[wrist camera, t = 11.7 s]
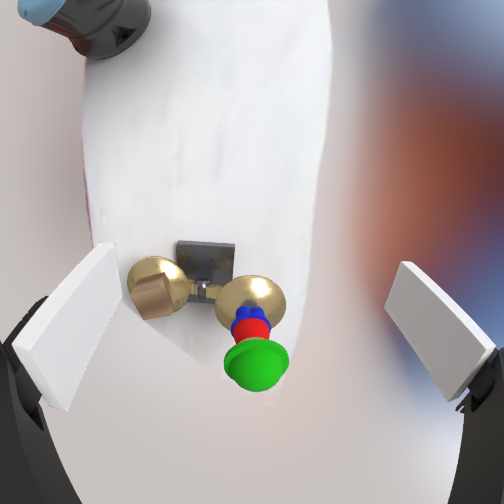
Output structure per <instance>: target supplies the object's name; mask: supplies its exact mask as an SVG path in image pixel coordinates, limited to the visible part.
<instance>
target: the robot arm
mask: <svg viewBox="0 0 504 504" xmlns="http://www.w3.org/2000/svg"><path fill="white" fill-rule="evenodd" d="M18 12H19V15H20V16H21V17H22V18H23V19H25V20H27V21H29V22H31V23H32V24H33V25H35V26H41V27H43V28H46V29H49V30H51V31H54V32H56V33H59V34H61V35H63V36H66V37H68V38H69V40H70V41H71V42H72V44H73V46H74V48H75V50H76V51H77V52H78V53H80V54H81V55H83V56H86V57H88V58H91V59H105V58H109V57H112V56H114V55H117V54H119V53H121V52H122V51H124V50H125V49H127V48H128V47H130V46H131V45H132V44H133V43H134V42H135V41H136V40H137V39H138V38H139V37H140V36H141V35H142V33H143V32H144V30H145V29H146V27H147V25H148V23H149V20H150V16H151V7H150V4H149V2H148V0H18ZM122 298H123V294H122V288H121V281H120V275H119V267H118V259H117V251H116V243H109V242H100V243H99V244H98V245H97V246H96V247H95V248H94V249H93V250H92V251H91V252H90V253H89V254H88V255H87V256H86V257H85V258H84V259H83V260H82V261H81V262H80V263H79V264H78V265H77V266H76V267H75V268H74V269H73V270H72V272H70V274H69V275H68V276H67V277H66V278H65V279H64V280H63V281H62V282H61V283H60V284H59V286H58V287H57V288H56V289H55V290H54V291H53V293H52V294H51V295H50V296H45V297H44V298H42V299H40V300H39V301H38V302H36V303H35V304H34V305H33V306H32V308H31V309H30V310H29V311H28V313H27V314H26V315H25V316H24V317H23V318H22V321H20V322H19V323H18V325H17V326H16V327H15V328H14V330H13V331H12V332H11V334H10V335H9V336H8V338H7V339H6V340H5V342H4V343H3V344H2V343H1V341H0V504H82V503H81V501H80V499H79V497H78V496H77V494H76V492H75V490H74V488H73V486H72V484H71V482H70V480H69V478H68V476H67V474H66V472H65V470H64V467H63V465H62V463H61V461H60V458H59V456H58V454H57V451H56V448H55V446H54V443H53V441H52V438H51V435H50V432H49V430H48V427H47V424H46V420H45V417H44V414H43V411H42V408H41V406H40V404H39V403H38V402H39V400H40V398H41V396H42V397H43V398H44V399H45V401H46V402H47V404H48V405H49V406H50V407H53V408H56V409H58V410H61V411H64V412H68V410H69V408H70V405H71V403H72V400H73V398H74V396H75V393H76V391H77V389H78V386H79V384H80V382H81V379H82V377H83V375H84V373H85V370H86V368H87V366H88V364H89V362H90V360H91V358H92V355H93V353H94V352H95V349H96V347H97V345H98V343H99V341H100V339H101V337H102V335H103V333H104V331H105V330H106V328H107V326H108V324H109V322H110V320H111V318H112V316H113V314H114V313H115V311H116V309H117V307H118V305H119V304H120V302H121V300H122ZM384 308H385V310H386V311H387V312H388V314H389V315H390V316H391V318H392V319H393V321H394V322H395V323H396V325H397V326H398V328H399V329H400V330H401V332H402V333H403V335H404V336H405V338H406V339H407V341H408V342H409V343H410V345H411V346H412V348H413V349H414V351H415V352H416V354H417V355H418V357H419V358H420V360H421V361H422V363H423V364H424V366H425V367H426V369H427V370H428V372H429V373H430V375H431V376H432V378H433V380H434V381H435V383H436V384H437V386H438V388H439V389H440V391H441V392H442V394H443V396H444V397H445V399H446V401H447V402H449V401H452V400H454V399H456V398H459V396H460V395H461V394H462V393H463V392H464V390H465V389H466V388H467V387H468V389H469V390H470V392H469V393H468V394H467V395H466V397H465V398H464V399H463V400H462V401H461V403H460V404H459V405H458V406H457V407H456V410H455V411H458V410H459V409H460V408H461V406H464V408H462V410H461V411H460V412H461V413H464V424H463V433H462V441H461V447H460V453H459V459H458V464H457V469H456V474H455V478H454V482H453V486H452V490H451V494H450V497H449V501H448V504H504V348H501V349H500V350H499V351H498V350H497V349H496V348H495V347H496V345H495V344H494V343H493V342H492V341H491V340H490V339H489V337H488V336H487V335H486V334H485V333H484V332H483V331H482V330H481V329H480V328H479V326H478V325H477V324H476V323H475V322H474V321H473V320H472V319H471V318H470V317H469V316H468V315H467V314H466V313H465V312H464V311H463V310H462V309H461V308H460V307H459V306H458V305H457V304H456V303H455V302H454V301H453V300H452V299H451V298H450V297H449V296H448V295H447V294H446V293H445V292H444V291H443V290H442V289H441V288H440V287H439V286H438V285H437V284H436V283H434V281H432V280H431V279H430V278H429V277H428V276H427V275H426V274H425V273H424V272H423V271H421V270H420V269H419V268H418V267H417V266H416V265H415V264H413V263H412V262H403V261H401V262H400V265H399V268H398V271H397V274H396V277H395V280H394V283H393V286H392V288H391V291H390V294H389V296H388V299H387V301H386V304H385V307H384Z"/></svg>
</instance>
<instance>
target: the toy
mask: <svg viewBox="0 0 504 504" xmlns="http://www.w3.org/2000/svg"><path fill="white" fill-rule="evenodd" d="M270 331H271V326H270V322H269V321H268V319H267V318H266V317H265V314H264V310H263V309H262V308H260V307H254V308H252V309H251V310H250V309H249V308H248V307H244V306H243V307H239V308H238V309H237V310H236V319H235V320H234V321H233V323H232V325H231V334H232V336H233V337H234V339H235V342H236V345H235V346H233V347H232V348H231V349H230V350H229V351H228V352H227V353H226V355H225V358H224V369H225V372H226V373H227V375H228V376H229V377H230V378H231V379H233V380H235V382H236V383H237V384H238V385H239V386H240V387H242V388H244V389H246V390H248V391H252V392H261V391H265V390H268V389H270V388H271V387H273V386H274V385H275V384H276V383H277V382H278V381H279V379H280V377H281V376H282V375H283V374H284V373H285V372H286V370H287V368H288V366H289V357H288V353H287V351H286V349H285V348H284V347H283V346H281V345H280V344H278V343H277V342H274V341H271V340H269V336H270Z"/></svg>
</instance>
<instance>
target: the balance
mask: <svg viewBox="0 0 504 504" xmlns="http://www.w3.org/2000/svg"><path fill="white" fill-rule="evenodd" d="M234 252H235V244H226V243H211V242H195V241H179V242H178V265H177V264H176V263H174V262H173V261H171V260H169V259H166V258H163V257H158V256H150V257H145V258H143V259H141V260H139V261H137V262H136V263H135V264H134V265H133V267H132V268H131V270H130V272H129V274H128V278H127V285H128V289H129V292H130V294H131V292H132V290H133V288H134V286H135V285H136V283H137V281H138V279H140V278H143V277H147V276H151V275H155V274H159V273H162V272H165V274H166V276H167V278H168V280H169V283H170V285H171V287H172V289H173V291H174V293H175V296H176V299H175V302H174V306H173V309H172V313H173V312H175V311H178V310H179V309H181V308H182V307H183V306H184V305H185V303H186V302H200V303H215V314H216V316H217V319H218V320H219V322H220V323H221V324H222V325H223V326H224V327H225V328H227V329H228V330H230V331H231V325H232V323H233V321H234V320H235V319H236V310H237V309H238V308H239V307H243V306H244V307H248V308H249V309H250V310H251V309H252V308H254V307H260V308H262V309H263V310H264V314H265V317H266V318H267V319H268V321H269V322H270V326H271V329H272V328H273V327H275V326H276V325H277V324H278V323H279V322H280V321H281V319H282V318H283V316H284V313H285V310H286V301H285V297H284V294H283V292H282V290H281V288H280V287H279V286H278V285H277V284H276V283H275V282H273V281H272V280H270V279H268V278H265V277H262V276H257V275H247V276H241V277H238V278H235V279H233V280H232V277H233V264H234Z"/></svg>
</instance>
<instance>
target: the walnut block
mask: <svg viewBox="0 0 504 504" xmlns="http://www.w3.org/2000/svg"><path fill="white" fill-rule="evenodd" d="M130 296H131V298H132V300H133V302H134V304H135V306H136V308H137V309H138V311H139V313H140V315H141V316H142V318H143V320H148V319H153V318H158V317H162V316H167V315H171V313H172V309H173V306H174V302H175V299H176V296H175V293H174V291H173V289H172V287H171V285H170V283H169V280H168V278H167V276H166V274H165V272H162V273H159V274H155V275H151V276H147V277H143V278H140V279H138V281H137V283H136V285H135V286H134V288H133V290H132V292H131V294H130Z"/></svg>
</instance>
